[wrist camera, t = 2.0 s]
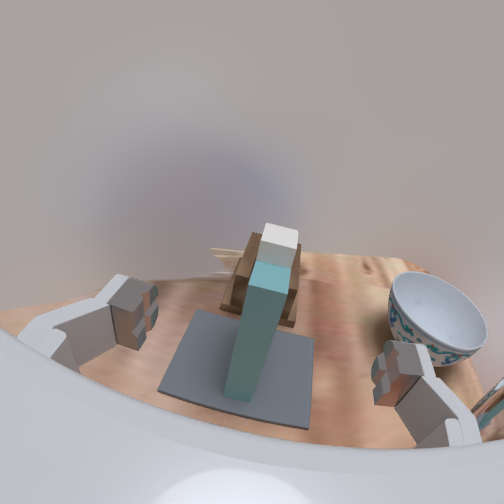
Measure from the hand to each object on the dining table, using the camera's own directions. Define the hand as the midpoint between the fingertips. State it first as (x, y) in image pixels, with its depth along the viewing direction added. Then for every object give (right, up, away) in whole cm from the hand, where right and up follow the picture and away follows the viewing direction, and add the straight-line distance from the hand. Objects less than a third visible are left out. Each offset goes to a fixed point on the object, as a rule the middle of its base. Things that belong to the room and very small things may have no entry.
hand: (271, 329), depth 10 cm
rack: (+1, -3, +31) cm, 31 cm away
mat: (-1, -9, +19) cm, 21 cm away
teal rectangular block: (-1, -9, +19) cm, 21 cm away
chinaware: (+21, -11, +25) cm, 35 cm away
